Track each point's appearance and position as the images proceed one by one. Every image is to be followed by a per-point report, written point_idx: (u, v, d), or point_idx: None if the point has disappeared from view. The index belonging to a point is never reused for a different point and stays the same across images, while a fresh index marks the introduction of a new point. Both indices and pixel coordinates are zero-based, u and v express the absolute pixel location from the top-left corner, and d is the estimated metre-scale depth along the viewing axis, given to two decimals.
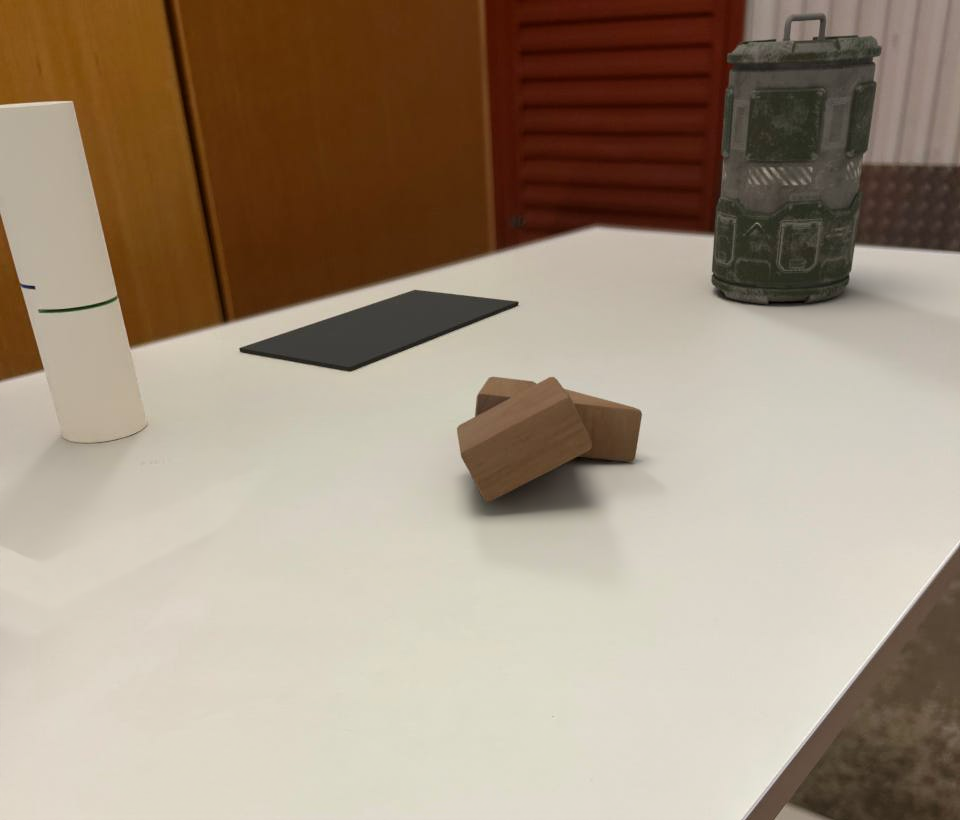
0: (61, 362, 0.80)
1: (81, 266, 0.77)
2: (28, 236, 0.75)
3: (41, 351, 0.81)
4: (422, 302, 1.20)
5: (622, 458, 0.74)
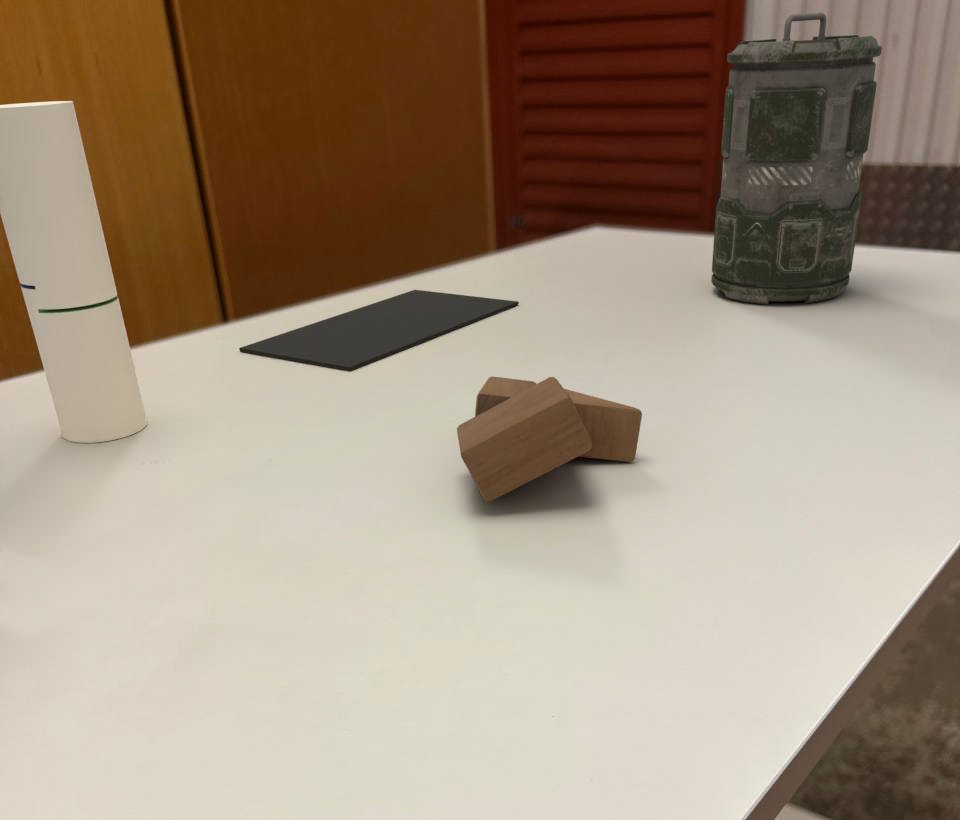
0: (61, 362, 0.80)
1: (81, 266, 0.77)
2: (28, 236, 0.75)
3: (41, 351, 0.81)
4: (422, 302, 1.20)
5: (622, 458, 0.74)
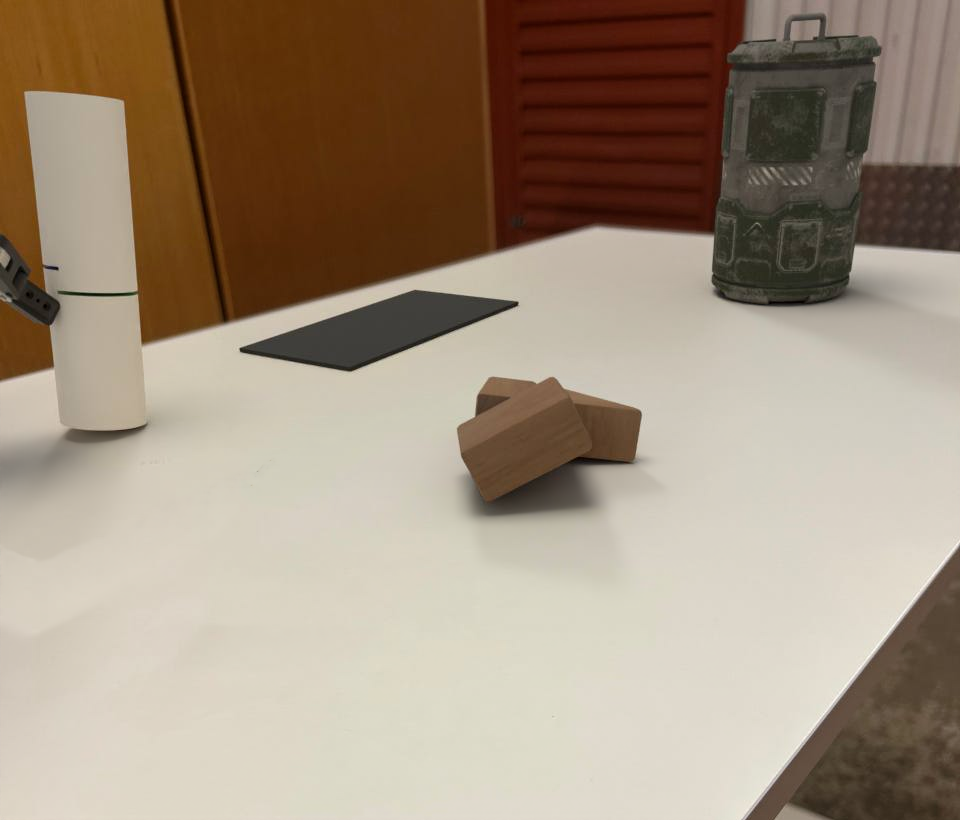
0: (72, 345, 0.81)
1: (107, 254, 0.79)
2: (60, 218, 0.77)
3: (53, 333, 0.81)
4: (422, 302, 1.20)
5: (622, 458, 0.74)
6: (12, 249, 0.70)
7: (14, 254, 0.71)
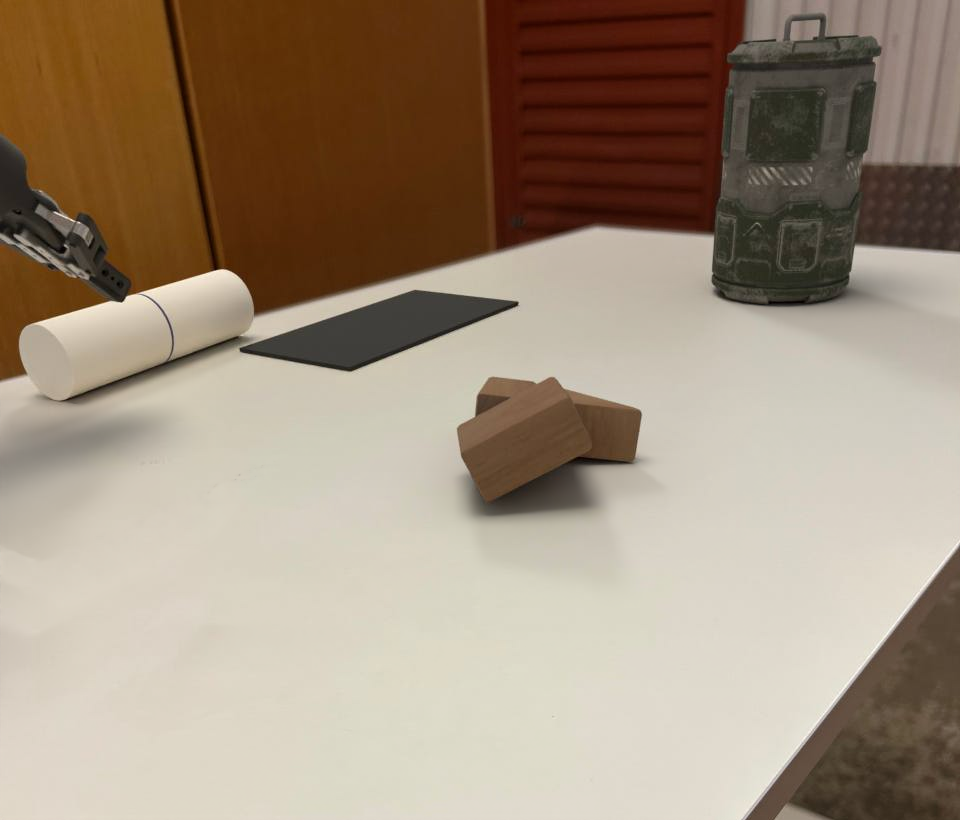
0: None
1: None
2: None
3: (122, 377, 0.99)
4: (422, 302, 1.20)
5: (622, 458, 0.74)
6: (95, 228, 0.75)
7: (96, 233, 0.76)
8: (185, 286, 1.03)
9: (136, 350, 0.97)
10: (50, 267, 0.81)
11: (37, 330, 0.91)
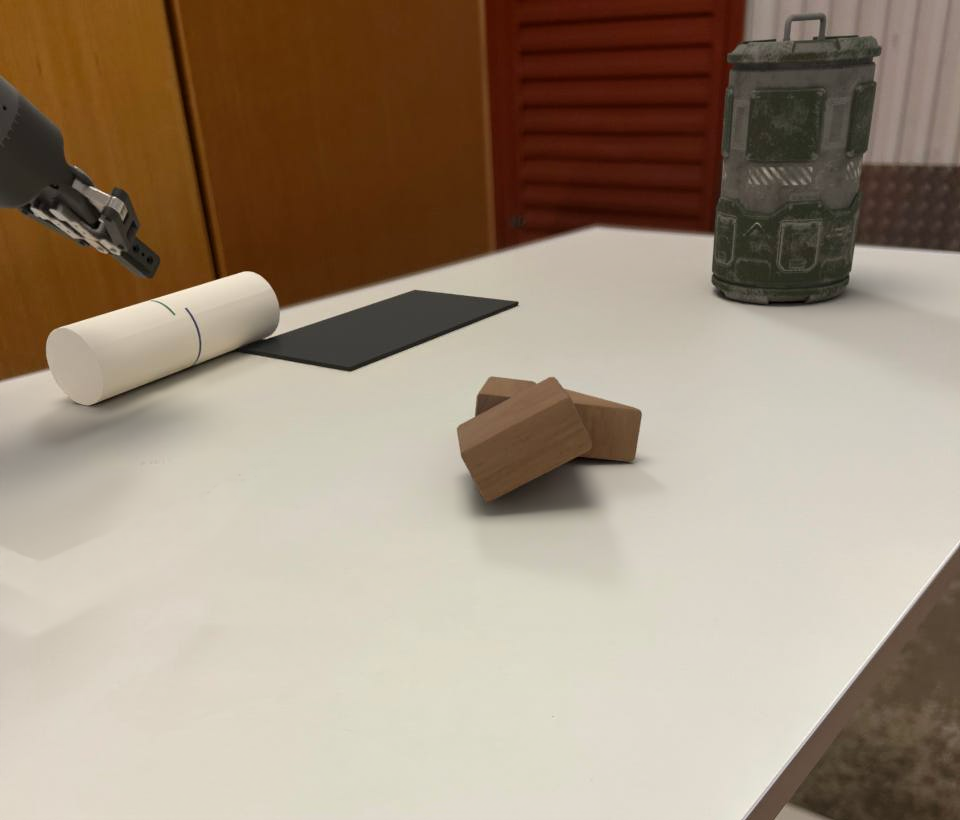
0: None
1: None
2: None
3: None
4: (422, 302, 1.20)
5: (621, 458, 0.74)
6: (129, 203, 0.77)
7: (130, 208, 0.77)
8: (232, 318, 1.02)
9: (154, 380, 0.98)
10: (82, 243, 0.83)
11: (89, 353, 0.89)
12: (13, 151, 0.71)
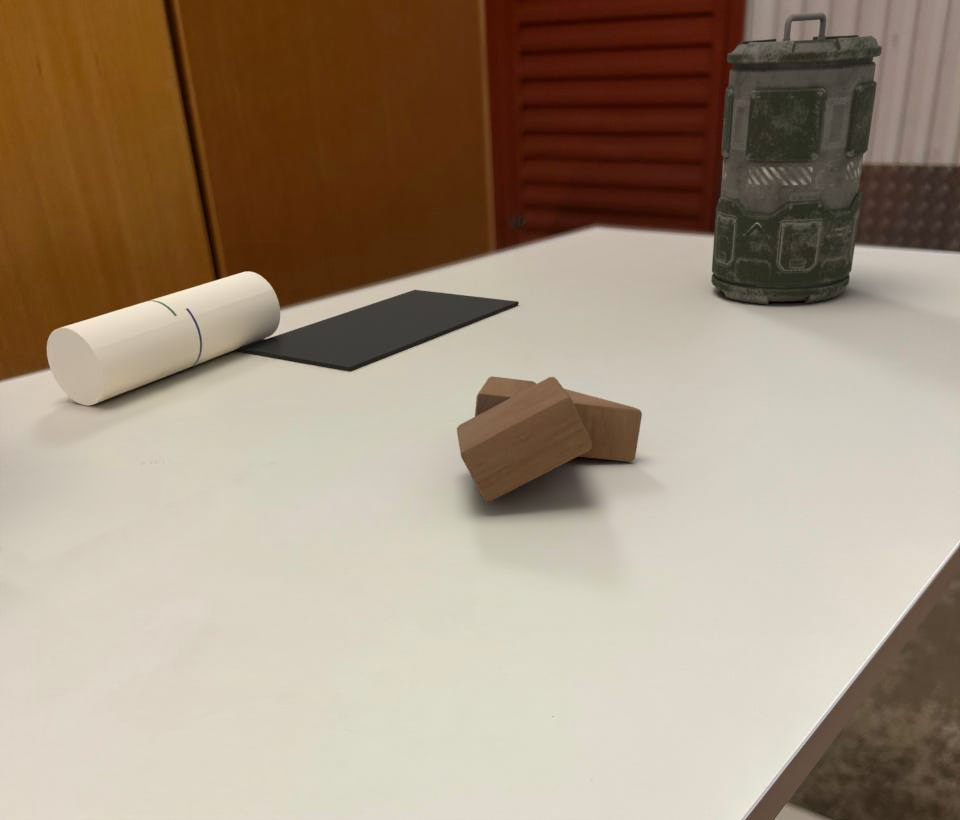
0: None
1: None
2: None
3: None
4: (422, 302, 1.20)
5: (621, 458, 0.74)
6: None
7: None
8: (233, 319, 1.02)
9: (154, 380, 0.98)
10: None
11: (90, 354, 0.89)
12: None
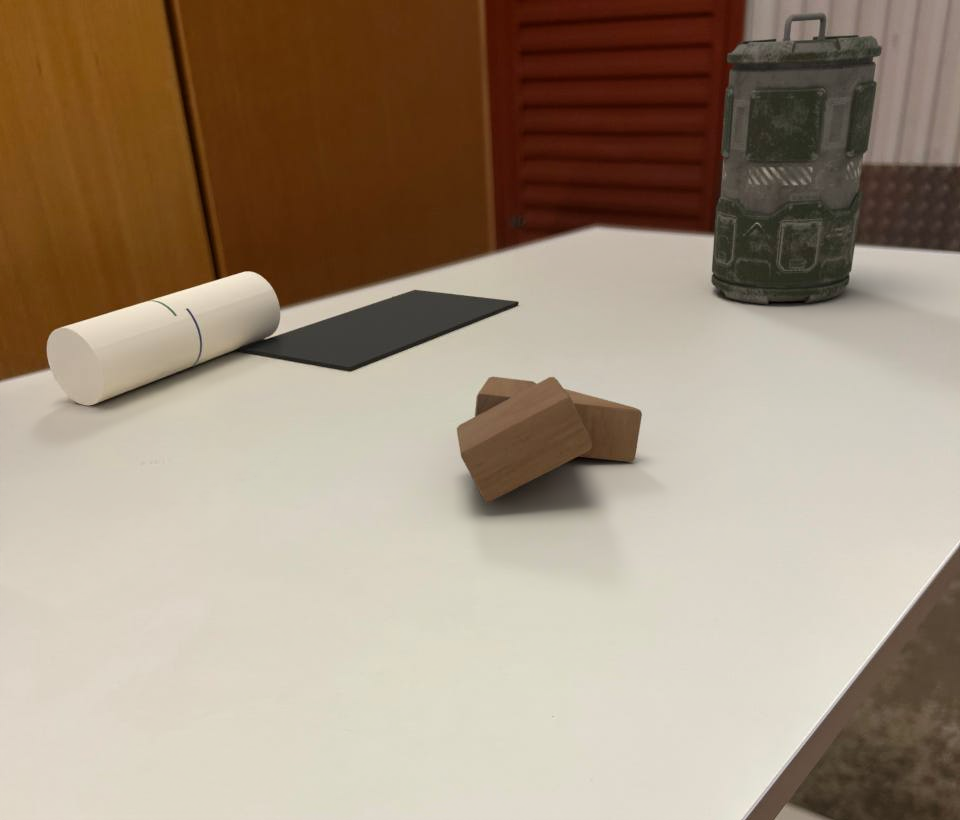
0: None
1: None
2: None
3: None
4: (422, 302, 1.20)
5: (621, 458, 0.74)
6: None
7: None
8: (233, 319, 1.02)
9: (154, 380, 0.98)
10: None
11: (90, 354, 0.89)
12: None
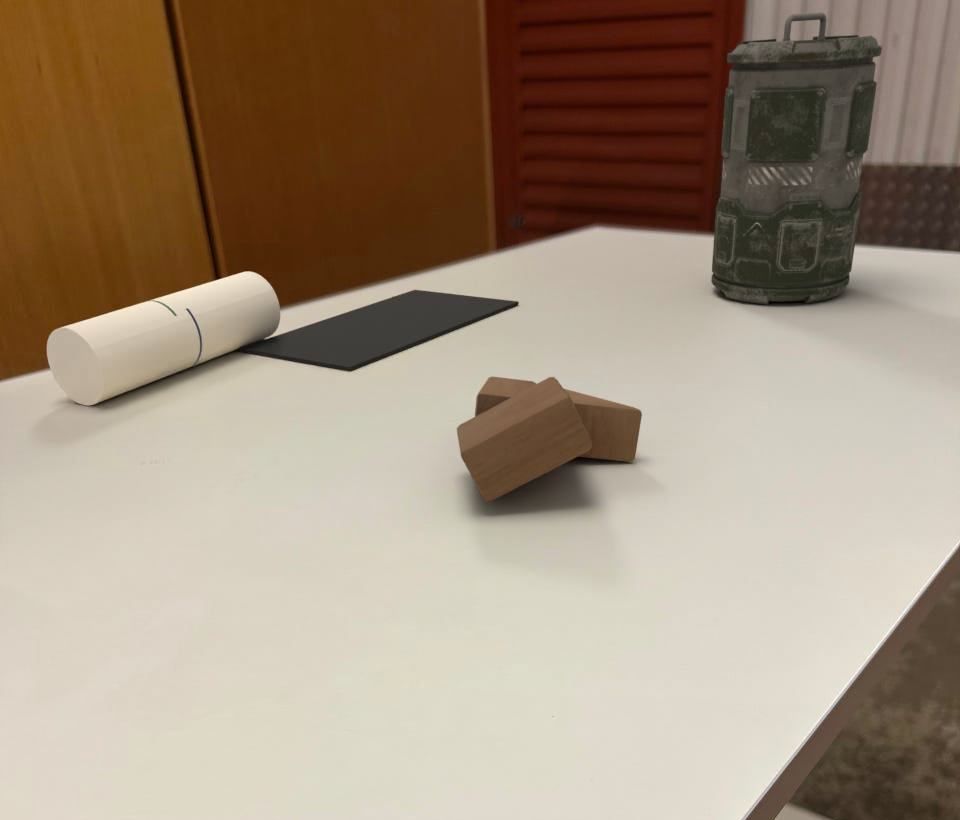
0: None
1: None
2: None
3: None
4: (422, 302, 1.20)
5: (621, 458, 0.74)
6: None
7: None
8: (233, 319, 1.02)
9: (154, 380, 0.98)
10: None
11: (90, 354, 0.89)
12: None
